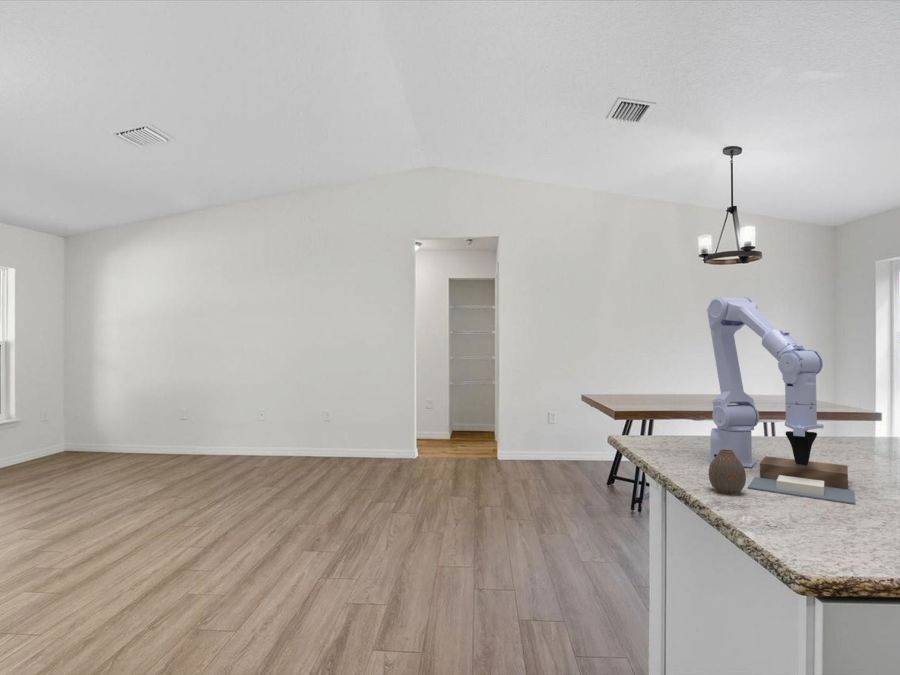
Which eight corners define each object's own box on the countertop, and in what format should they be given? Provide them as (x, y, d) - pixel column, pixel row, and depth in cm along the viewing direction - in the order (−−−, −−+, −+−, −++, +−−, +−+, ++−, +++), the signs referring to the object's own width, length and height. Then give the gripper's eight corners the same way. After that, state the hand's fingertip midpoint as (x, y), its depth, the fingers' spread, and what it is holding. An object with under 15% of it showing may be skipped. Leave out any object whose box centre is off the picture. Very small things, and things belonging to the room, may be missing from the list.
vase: (704, 492, 104) (704, 450, 104) (714, 485, 109) (713, 445, 109) (741, 498, 99) (741, 455, 100) (749, 491, 104) (749, 450, 105)
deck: (760, 478, 115) (759, 463, 115) (765, 470, 123) (765, 456, 123) (848, 490, 105) (847, 474, 105) (847, 480, 113) (847, 465, 113)
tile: (779, 475, 110) (779, 483, 110) (776, 480, 105) (776, 489, 105) (824, 480, 105) (824, 489, 105) (823, 487, 100) (823, 495, 100)
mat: (747, 488, 107) (747, 487, 107) (754, 478, 115) (754, 476, 115) (855, 504, 95) (855, 503, 95) (854, 491, 104) (854, 490, 104)
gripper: (821, 407, 103) (823, 473, 102) (824, 402, 114) (825, 461, 114) (781, 405, 107) (782, 468, 107) (787, 400, 118) (788, 457, 118)
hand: (801, 464), depth 111 cm, fingers closed
